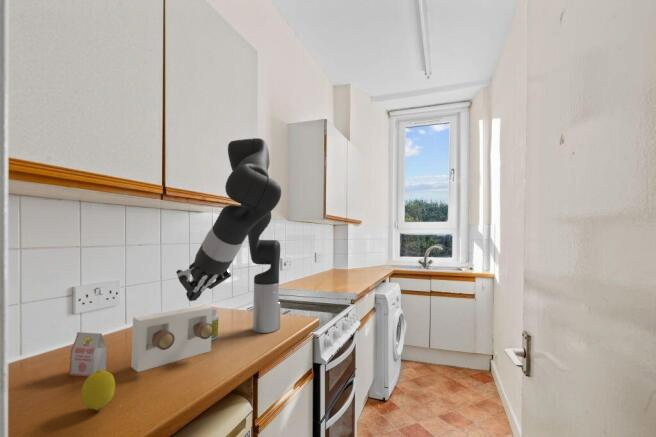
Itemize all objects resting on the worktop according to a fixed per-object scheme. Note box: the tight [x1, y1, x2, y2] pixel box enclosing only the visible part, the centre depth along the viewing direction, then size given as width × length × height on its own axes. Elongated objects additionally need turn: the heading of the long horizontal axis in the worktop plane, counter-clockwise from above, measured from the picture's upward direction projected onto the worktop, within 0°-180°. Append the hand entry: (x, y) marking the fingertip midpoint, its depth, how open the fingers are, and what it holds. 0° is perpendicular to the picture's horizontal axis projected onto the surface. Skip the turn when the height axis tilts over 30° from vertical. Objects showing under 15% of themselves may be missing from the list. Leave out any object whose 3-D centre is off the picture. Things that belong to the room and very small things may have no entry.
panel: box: [130, 304, 213, 373], centre depth 90 cm, size 20×5×13 cm, turn 139°
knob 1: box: [152, 330, 175, 350], centre depth 83 cm, size 4×6×4 cm
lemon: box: [80, 369, 116, 412], centre depth 64 cm, size 6×6×8 cm
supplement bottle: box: [211, 307, 219, 341], centre depth 107 cm, size 5×5×10 cm
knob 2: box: [193, 321, 214, 339], centre depth 91 cm, size 4×6×4 cm
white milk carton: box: [69, 331, 108, 378], centre depth 80 cm, size 4×7×10 cm, turn 81°
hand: (191, 297), depth 76 cm, fingers closed
